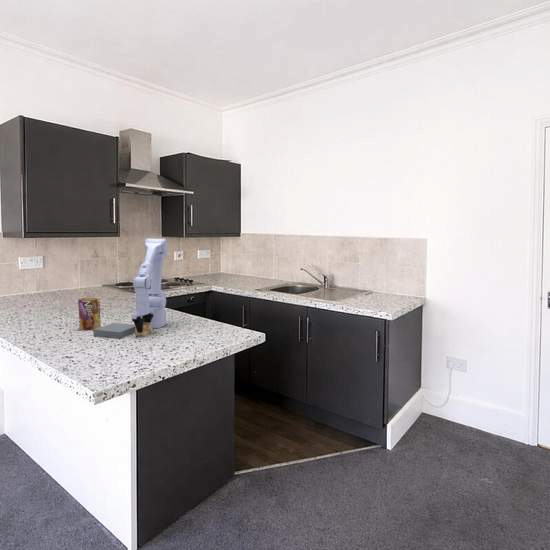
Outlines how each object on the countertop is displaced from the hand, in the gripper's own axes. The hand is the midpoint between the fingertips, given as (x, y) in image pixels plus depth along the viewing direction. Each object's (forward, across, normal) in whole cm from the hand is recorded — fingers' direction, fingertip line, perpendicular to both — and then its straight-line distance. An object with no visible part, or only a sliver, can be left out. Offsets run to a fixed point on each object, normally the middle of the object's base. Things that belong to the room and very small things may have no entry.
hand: (143, 331), depth 182 cm
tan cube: (+1, 0, 0) cm, 1 cm away
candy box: (+2, -1, -30) cm, 30 cm away
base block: (+1, +3, -12) cm, 12 cm away
